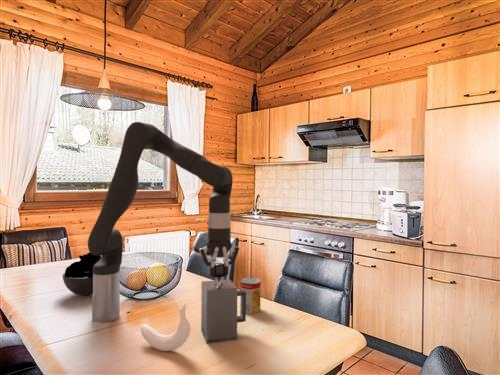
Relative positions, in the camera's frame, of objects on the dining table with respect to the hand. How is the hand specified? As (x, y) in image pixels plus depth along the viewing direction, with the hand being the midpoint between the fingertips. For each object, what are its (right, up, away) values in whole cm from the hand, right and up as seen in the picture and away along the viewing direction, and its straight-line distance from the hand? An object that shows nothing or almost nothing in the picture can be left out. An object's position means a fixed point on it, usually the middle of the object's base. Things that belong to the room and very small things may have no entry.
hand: (219, 277), depth 117 cm
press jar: (+2, -19, +1) cm, 20 cm away
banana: (-16, -20, -9) cm, 27 cm away
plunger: (0, -14, 0) cm, 14 cm away
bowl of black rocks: (-62, -18, +39) cm, 76 cm away
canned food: (+11, -19, +23) cm, 32 cm away
